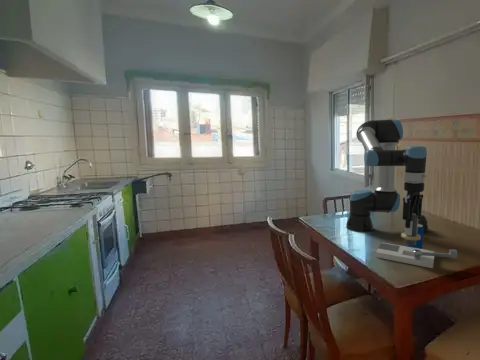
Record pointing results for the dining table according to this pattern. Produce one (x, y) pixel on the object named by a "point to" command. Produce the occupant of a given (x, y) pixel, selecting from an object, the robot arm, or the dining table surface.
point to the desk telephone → (404, 255)
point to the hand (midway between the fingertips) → (410, 233)
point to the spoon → (451, 253)
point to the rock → (423, 223)
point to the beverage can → (420, 242)
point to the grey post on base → (412, 239)
